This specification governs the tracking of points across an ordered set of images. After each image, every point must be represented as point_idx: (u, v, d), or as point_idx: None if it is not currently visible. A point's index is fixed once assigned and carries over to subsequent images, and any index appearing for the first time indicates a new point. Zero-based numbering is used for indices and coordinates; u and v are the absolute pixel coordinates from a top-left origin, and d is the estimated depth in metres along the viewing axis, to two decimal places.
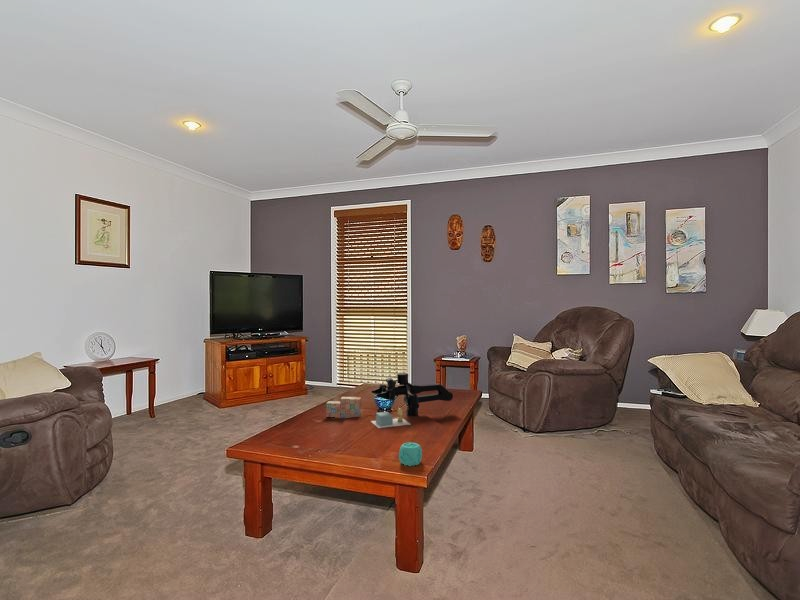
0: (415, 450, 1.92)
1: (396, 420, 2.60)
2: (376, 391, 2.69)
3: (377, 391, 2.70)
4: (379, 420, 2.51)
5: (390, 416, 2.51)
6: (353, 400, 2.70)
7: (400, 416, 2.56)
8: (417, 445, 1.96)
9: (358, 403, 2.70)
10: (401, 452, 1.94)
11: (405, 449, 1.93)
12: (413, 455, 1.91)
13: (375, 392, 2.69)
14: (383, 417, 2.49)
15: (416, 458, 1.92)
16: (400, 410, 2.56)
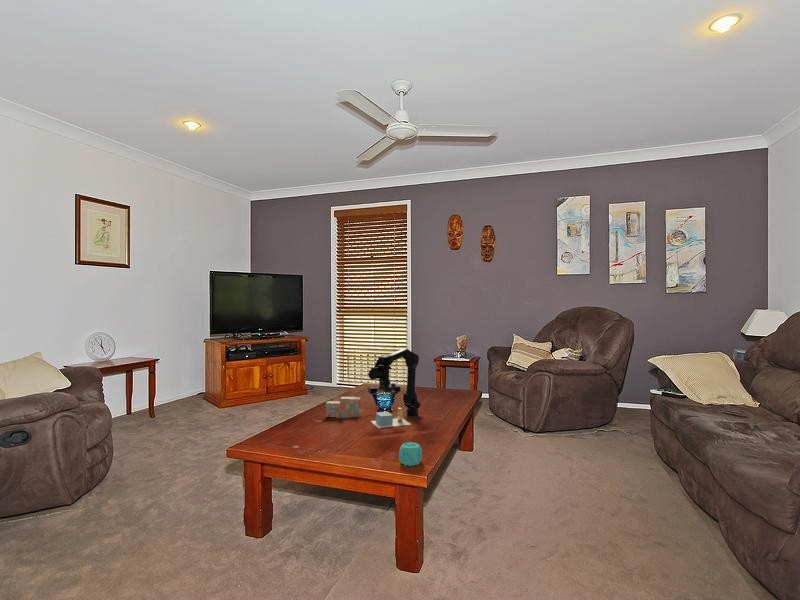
0: (415, 450, 1.92)
1: (396, 420, 2.60)
2: None
3: None
4: (379, 420, 2.51)
5: (390, 416, 2.51)
6: (353, 400, 2.70)
7: (400, 416, 2.56)
8: (417, 445, 1.96)
9: (358, 403, 2.70)
10: (401, 452, 1.94)
11: (405, 449, 1.93)
12: (413, 455, 1.91)
13: None
14: (383, 417, 2.49)
15: (416, 458, 1.92)
16: (400, 410, 2.56)
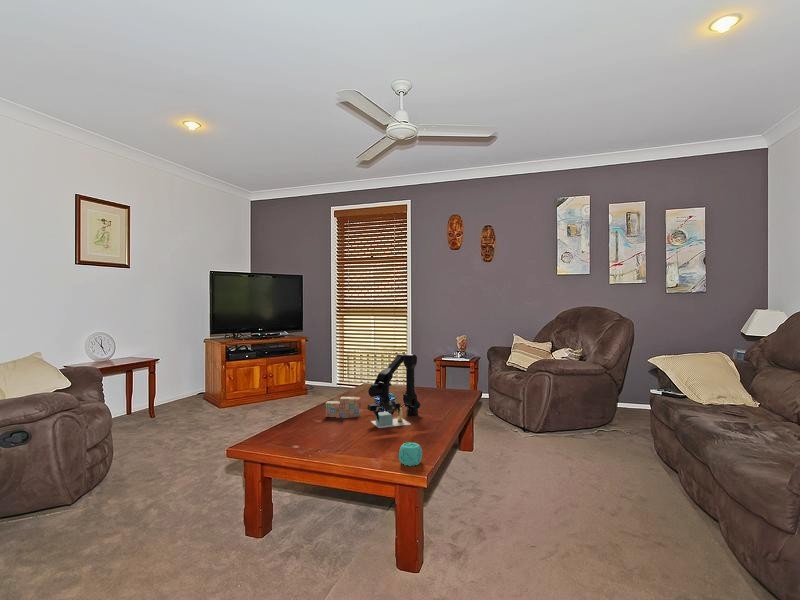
0: (415, 450, 1.92)
1: (396, 420, 2.60)
2: None
3: None
4: (379, 420, 2.51)
5: (390, 416, 2.51)
6: (352, 400, 2.70)
7: (400, 416, 2.56)
8: (417, 445, 1.96)
9: (357, 403, 2.70)
10: (401, 452, 1.94)
11: (405, 449, 1.93)
12: (413, 455, 1.91)
13: None
14: (383, 417, 2.49)
15: (416, 458, 1.92)
16: (400, 410, 2.56)
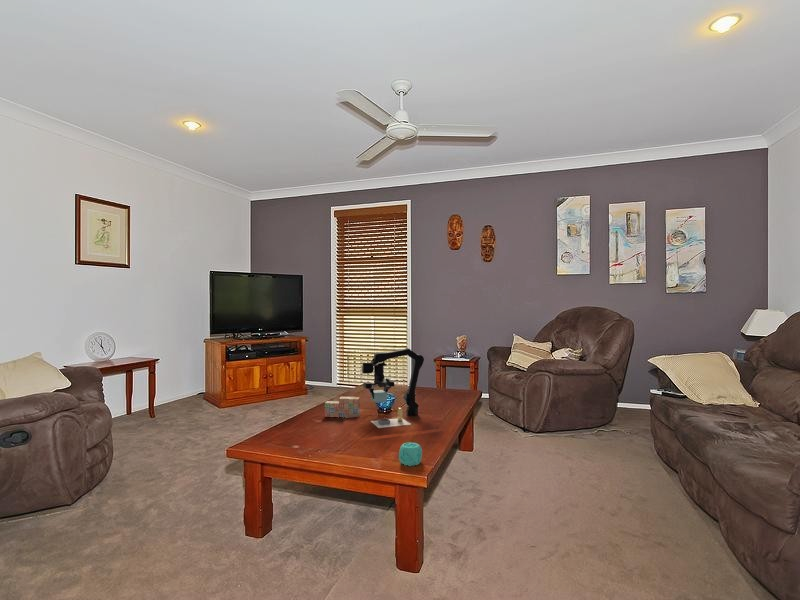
0: (415, 450, 1.92)
1: (396, 420, 2.60)
2: None
3: None
4: (374, 397, 2.65)
5: (384, 393, 2.65)
6: (352, 400, 2.71)
7: (400, 416, 2.56)
8: (417, 445, 1.96)
9: (357, 403, 2.70)
10: (401, 452, 1.94)
11: (405, 449, 1.93)
12: (413, 455, 1.91)
13: None
14: (378, 394, 2.64)
15: (416, 458, 1.92)
16: (400, 410, 2.56)
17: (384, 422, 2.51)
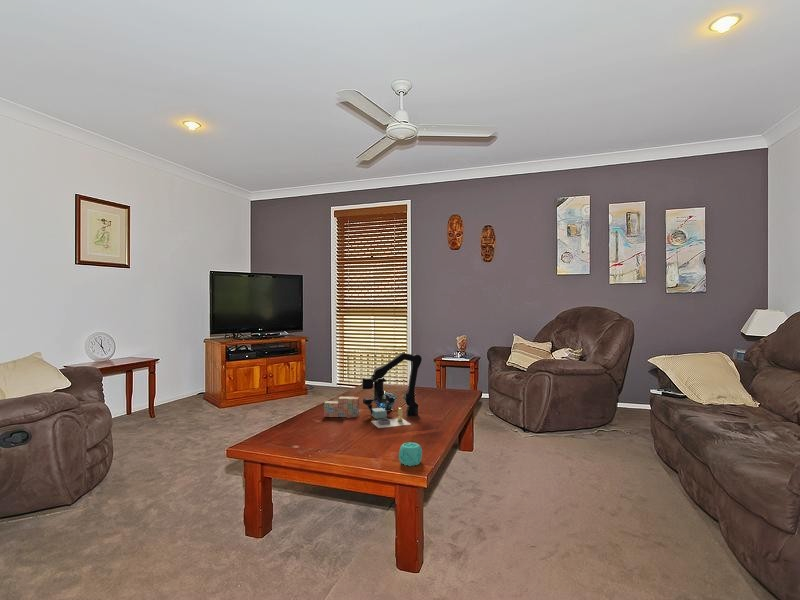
0: (415, 450, 1.92)
1: (396, 420, 2.60)
2: None
3: None
4: (374, 415, 2.66)
5: (384, 412, 2.66)
6: (351, 400, 2.71)
7: (400, 416, 2.56)
8: (417, 445, 1.96)
9: (356, 403, 2.71)
10: (401, 452, 1.94)
11: (405, 449, 1.93)
12: (413, 455, 1.91)
13: None
14: (378, 413, 2.65)
15: (416, 458, 1.92)
16: (400, 410, 2.56)
17: (384, 422, 2.51)
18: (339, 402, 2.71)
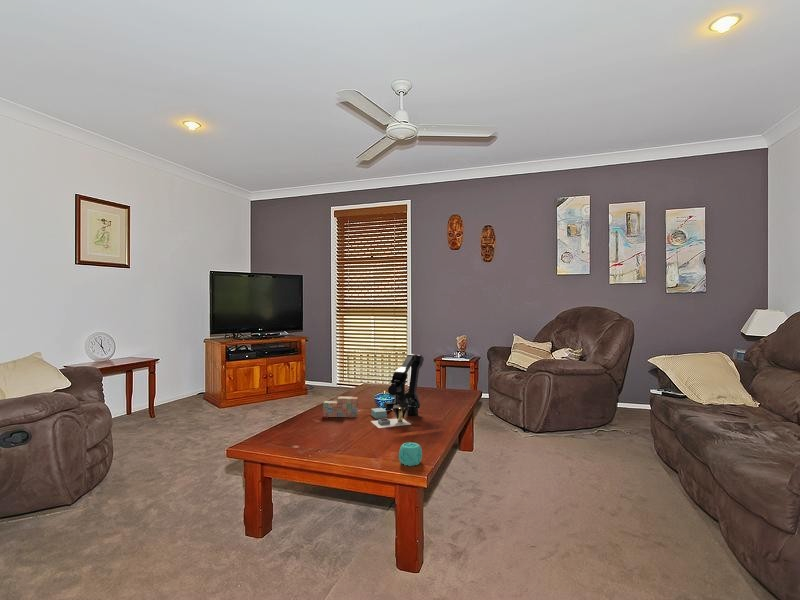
0: (415, 450, 1.92)
1: (396, 420, 2.60)
2: None
3: None
4: (374, 415, 2.66)
5: (384, 412, 2.66)
6: (350, 400, 2.71)
7: (400, 416, 2.56)
8: (417, 445, 1.96)
9: (355, 403, 2.71)
10: (401, 452, 1.94)
11: (405, 449, 1.93)
12: (413, 455, 1.91)
13: None
14: (378, 413, 2.65)
15: (416, 458, 1.92)
16: (400, 410, 2.56)
17: (384, 422, 2.51)
18: (338, 402, 2.72)
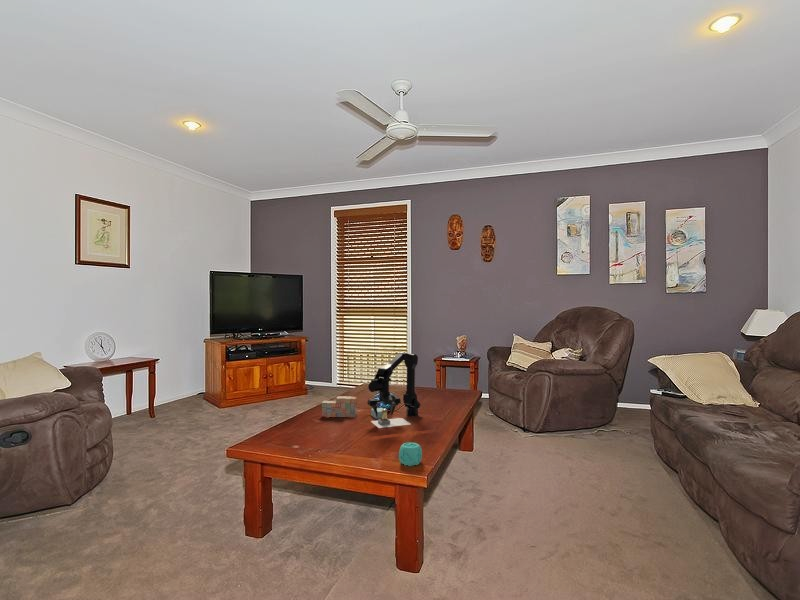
0: (415, 450, 1.92)
1: (396, 420, 2.60)
2: None
3: None
4: (374, 415, 2.66)
5: None
6: (349, 399, 2.72)
7: (384, 418, 2.52)
8: (417, 445, 1.96)
9: (354, 402, 2.71)
10: (401, 452, 1.94)
11: (405, 449, 1.93)
12: (413, 455, 1.91)
13: None
14: (378, 413, 2.65)
15: (416, 458, 1.92)
16: (384, 412, 2.52)
17: (384, 422, 2.51)
18: (337, 402, 2.72)
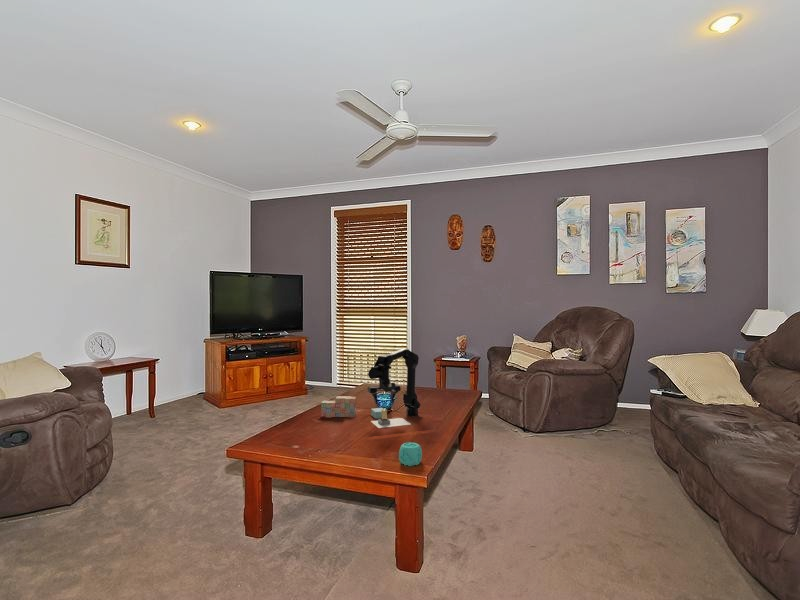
0: (415, 450, 1.92)
1: (396, 420, 2.60)
2: None
3: None
4: (374, 415, 2.66)
5: None
6: (348, 399, 2.72)
7: (384, 418, 2.52)
8: (417, 445, 1.96)
9: (353, 402, 2.72)
10: (401, 452, 1.94)
11: (405, 449, 1.93)
12: (413, 455, 1.91)
13: None
14: (378, 413, 2.65)
15: (416, 458, 1.92)
16: (384, 412, 2.53)
17: (384, 422, 2.51)
18: (336, 402, 2.72)
